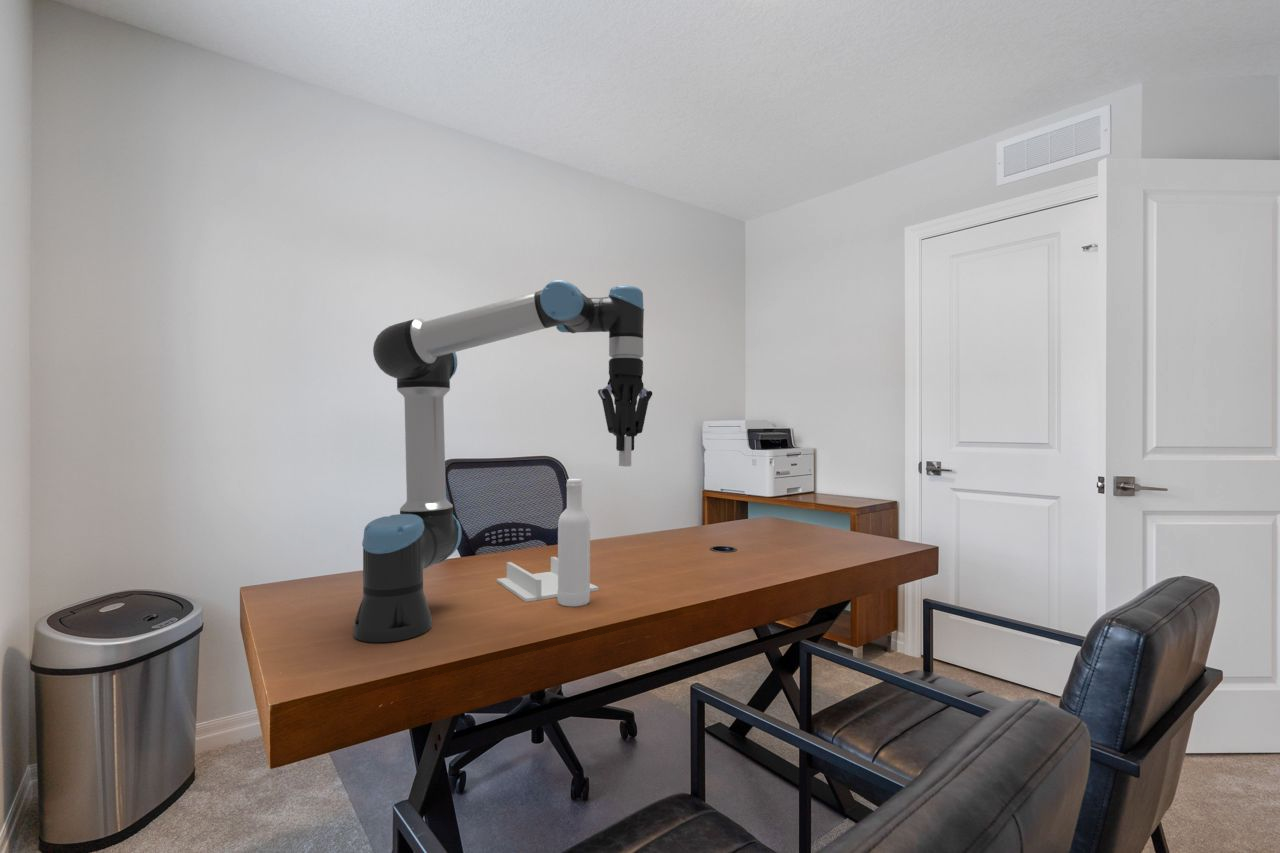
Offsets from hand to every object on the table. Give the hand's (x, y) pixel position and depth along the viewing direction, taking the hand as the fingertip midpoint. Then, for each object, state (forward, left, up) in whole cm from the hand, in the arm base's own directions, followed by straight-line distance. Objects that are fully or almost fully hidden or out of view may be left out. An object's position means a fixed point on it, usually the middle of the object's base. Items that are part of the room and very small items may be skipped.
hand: (625, 465), depth 130 cm
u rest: (-28, +24, -34) cm, 50 cm away
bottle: (-16, +12, -35) cm, 40 cm away
